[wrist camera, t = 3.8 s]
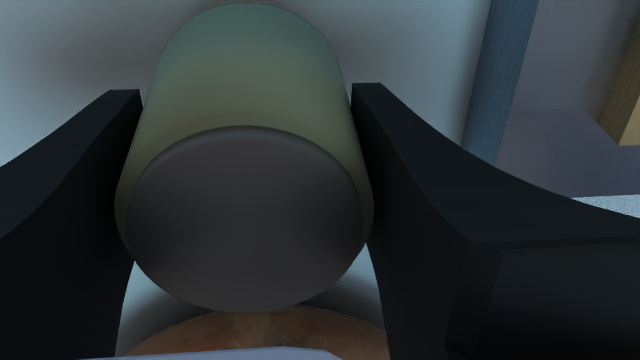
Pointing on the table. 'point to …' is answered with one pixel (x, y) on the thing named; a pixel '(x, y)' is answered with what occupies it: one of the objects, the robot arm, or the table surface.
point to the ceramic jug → (271, 333)
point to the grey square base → (560, 95)
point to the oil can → (245, 165)
